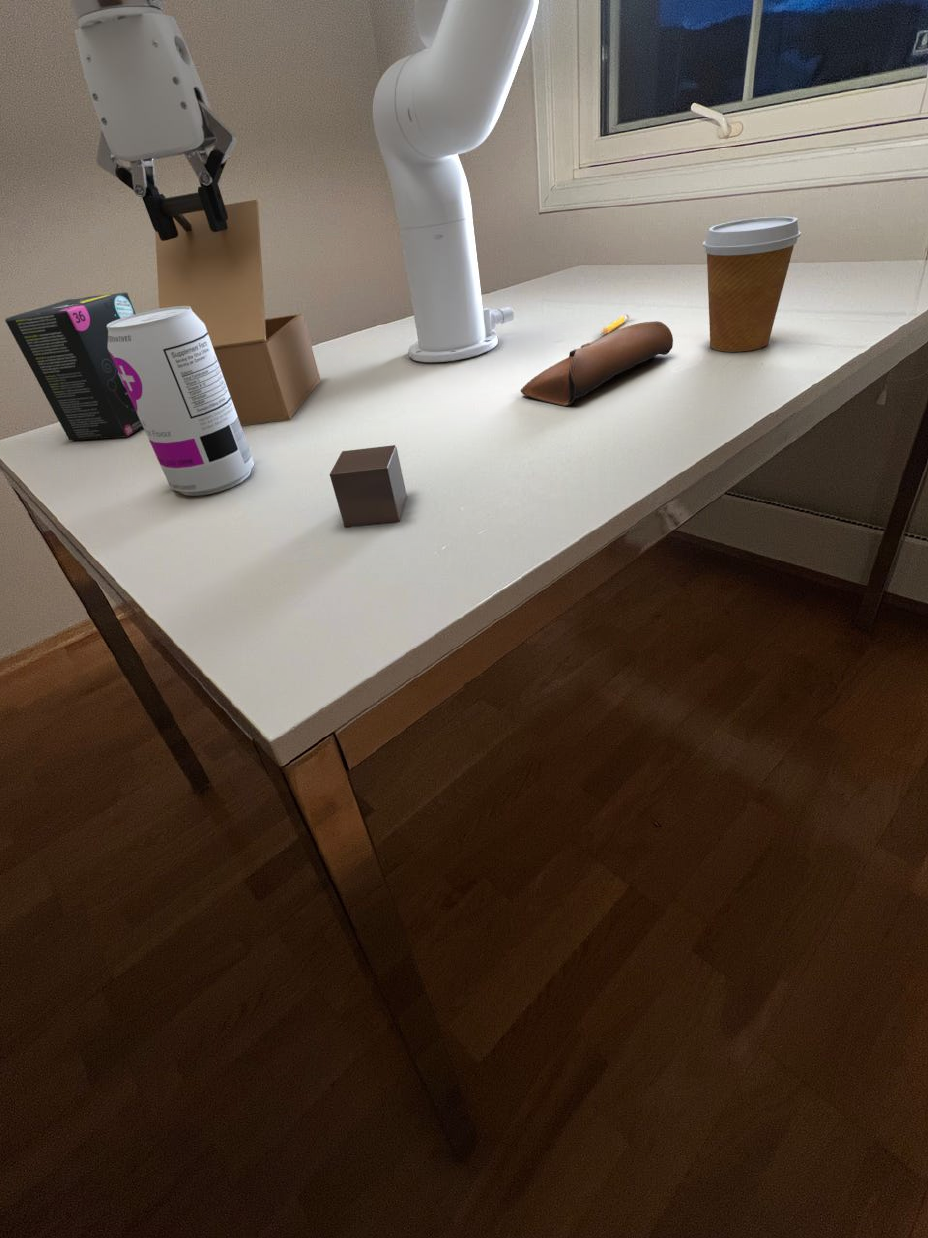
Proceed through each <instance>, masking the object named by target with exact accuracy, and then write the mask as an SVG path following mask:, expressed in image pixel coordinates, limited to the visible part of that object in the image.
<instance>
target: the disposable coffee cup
mask: <svg viewBox="0 0 928 1238" xmlns="http://www.w3.org/2000/svg"><path fill="white" fill-rule="evenodd" d="M801 234H802V232H801V231H800V230H799V221H798V218H797V217H794V216H763V217H755V218H754V217H753V218H746V219H740V220H733V221H728V222H723V223H720V224H715V225H713V226H711V227H709V228H708V230H707V235H706V238H705V240H704V241H703V243H702V246H703V247H704V253H705V254H706V268H707V269H706V270H707V271H706V272H707V295H708V320H709V321H708V324H709V347H710V348H712V350H716V351H719V352H727V353H729V352H730V353H735V352H748V351H753V350H758V349H761V348H764V347H765V346H767V345H768V344H769V343H770V339H771V335H772V331H773V327H774V324H775V321H776V315H777V313H778V308H779V304H780V300H781V297H782V293H783V290H784V285H785V281H786V278H787V273H788V270H789V267H790V262H791V257H792V254H793V250H794V247H795V245H796V244H797V243H798V238H799V237H800V236H801Z"/></svg>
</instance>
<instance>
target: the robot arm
mask: <svg viewBox="0 0 928 1238" xmlns="http://www.w3.org/2000/svg"><path fill="white" fill-rule="evenodd" d="M69 2H70V5H71V7H72V10H73V13H74V16H75V18H76V21H77V23H78V26H79V28H78V29H75V30H74V33H75V39H76V45H77V49H78V50H77V51H78V54H79V59H80V62H81V66H82V70H83V74H84V79H85V82H86V85H87V89H88V92H89V96H90V98H91V102H92V105H93V108H94V112H95V114H96V117H97V120H98V122H99V123H98V124H99V125H100V128H101V133H100V138H99V144H98V148H97V154H96V159H95V161H96V164H97V165H98V167H99V168H101V169H102V170H104V171H106V172H107V173H109V174H110V175H112V176H114V177H116V178H117V179H118V180H119V181H120V182H122V183H123V184H124V185H125V186H127V187H128V188H129V189H131V190H132V191H133V192H134V195H136V196H137V197H139V198H141V199H142V201H143V204H144V207H145V209H146V212H147V214H148V217H149V221H150V222H151V223H150V224H151V225H152V228H153V230H154V232H155V231H156V232H158V234H159V237H160V239H161V240H162V241H166V240H170V239H173V238H177V236H178V231H177V228H176V225H175V223H174V220H173V217H172V216H167V215H166V214H165V213H164V211H163V209H162V205H161V200H162V199H163V198H167V197H166V196H165V195H164V193H160V191H159V188H158V183H157V175H156V166H155V160H159V159H160V160H161V159H165V158H171V157H178V156H183V155H184V156H185V158H186V160H187V161H188V163H189V165H190V166H191V168H192V170H193V172H194V173H195V175H196V177H197V178H198V181H199V182H198V183H199V184H200V186H197V192H198V193H199V196H200V199H201V202H202V205H203V208H204V212H205V215H206V218H207V221H208V224H209V227H210V229H211V231H213V232H219V231H222V230H225V229H227V228H228V226H227V222H226V220H228V215H227V211H226V208H225V205H226V204H225V202H224V199H223V195H222V191H221V189H220V186H219V184H220V183H221V181H222V177H221V176H222V173H223V172H224V170H225V166H226V164H227V161H228V158H229V156H230V155H231V153H232V151H233V149H234V148H235V146H236V143H237V142H238V137H237V135H236V133H235V132H234V131H233V130H232V129H231V128H230V127H229V125H227V124H226V123H225V122H224V121H223V120H222V119H221V118H220V117H218V115H217V114H216V113H215V112H213V110H212V108H211V104H210V101H209V99H208V96H207V94H206V91H205V89H204V85H203V83H202V80H201V76H200V75H199V73H198V70H197V68H196V65H195V62H194V60H193V58H192V55H191V53H190V51H189V47H188V46H187V43H186V41H185V39H184V36H183V34H182V32H181V30H180V27H179V25H178V23H177V22H176V19H175V17H174V16H172V15H168V14H165V13H164V12H163V10H164V9H165V7H164V4H163V0H69ZM538 6H539V0H414V22H415V26H416V32H417V34H418V36H419V39H420V41H421V43H422V44H423V45H424V47H425V49H423V50H418V51H416V52H414V53H412V54H411V53H410V54H409V55H407V56H405V57H402V58H401V59H399V60H397V61H395V62H394V63H392V64H391V65H390V66H389V67H388V68H387V69H386V70H385V71H384V73H383V74H382V76H381V77H380V79H379V81H378V83H377V85H376V88H375V90H374V96H373V100H372V123H373V129H374V133H375V137H376V141H377V145H378V147H379V150H380V153H381V156H382V160H383V163H384V166H385V169H386V174H387V177H388V181H389V184H390V188H391V194H392V199H393V203H394V209H395V213H396V219H397V227H398V233H399V238H400V244H401V250H402V255H403V261H404V268H405V273H406V279H407V284H408V291H409V296H410V301H411V307H412V314H413V319H414V324H415V330H416V335H417V336H416V337H417V341H415V342H414V343H412V344H411V345H410V346H409V347H408V353H409V358H411V360H413V361H415V362H419V363H445V362H454V361H460V360H464V359H469V358H472V357H476V356H479V355H482V354H485V353H487V352H489V351H491V350H492V349H494V348H495V347H496V346H497V344H498V343H499V342H498V335H497V333H496V332H494V331H493V329H495V328H496V327H497V325H499V324H506V323H509V322H512V321H513V320H514V317H515V314H514V310H513V309H514V308H512V307H511V306H505V307H501V308H499V309H497V310H495V309H494V308H491V309H490V308H488V307H483V299H482V291H481V290H482V289H481V282H480V273H479V264H478V257H477V256H478V255H477V246H476V238H475V229H474V221H473V207H472V199H471V194H470V189H469V184H468V181H467V176H466V174H465V171H464V168H463V165H462V162H461V159H460V157H459V155H460V154H465V153H468V152H471V151H473V150H475V149H476V148H478V147H479V146H481V145H482V144H483V143H484V142H485V141H486V140H487V138H488V137H489V136H490V134H491V133H492V131H493V129H494V128H495V126H496V124H497V121H498V119H499V118H500V115H501V113H502V111H503V108H504V106H505V102H506V99H507V97H508V94H509V92H510V90H511V87H512V85H513V84H512V83H513V82H514V79H515V76H516V74H517V71H518V67H519V65H520V62H521V61H522V57H523V55H524V51H525V49H526V46H527V43H528V41H529V38H530V35H531V32H532V30H533V26H534V23H535V19H536V17H537V12H538ZM209 149H212V150H210V151H209V153H208V151H207V150H209ZM121 161H123V162H121ZM124 162H129V166H127V165H125V164H124Z"/></svg>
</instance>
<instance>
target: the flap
mask: <svg viewBox="0 0 928 1238" xmlns="http://www.w3.org/2000/svg"><path fill="white" fill-rule="evenodd" d="M161 205H162V209H163V211H164V213H165V214H166V215H167V216H172V217H173V220H174V223H175V225H176V228H177V231H178V236H177V238H173V239H170V240H166V241H162V240H161V239H160V237H159V234H158V232H156V231H155V230H154V233H155V234H154V236H155V253H156V254H155V255H156V273H157V274H156V275H157V290H158V292H157V293H158V309H162V308H169V307H177V306H190V307H191V309H192V311H193V312H194V313H195V314H196V316H197V317H198V318H199V319H200V320H201V321H202V322H203V323H204V324H205V327H206V329H207V332H208V335H209V338H210V341H211V343H212V346H213V349H215V348H223V347H230V346H237V345H244V344H251V343H258V342H265V341H266V328H265V319H266V313H265V298H264V297H265V296H264V295H265V294H264V282H263V281H264V278H263V263H262V247H261V230H260V229H261V228H260V212H259V202H258V200H257V199H251V200H246V201H241V202H234V203H229V204H224V205H225V208H226V211H227V215H228V220H226V222H227V226H228V228H227V229H225V230H222V231H219V232H213V231H211V229H210V227H209V224H208V221H207V218H206V215H205V212H204V208H203V205H202V202H201V199H200V196H199V193H198V191H197V192H191V193H187V194H181V195H174V196H170V197H166V198H163V199H162V200H161Z"/></svg>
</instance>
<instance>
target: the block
mask: <svg viewBox="0 0 928 1238" xmlns="http://www.w3.org/2000/svg"><path fill="white" fill-rule="evenodd" d="M329 477H330V481H331V484H332V488H333V492H334V495H335V498H336V503H337V505H338V508H339V513H340V516H341V519H342V523H343V527H346V528H347V527H357V526H366V525H367V526H368V525H376V524H385V523H397V522H400V520H401V517H402V515H403V511H404V508H405V507H404V506H405V503H406V500H407V497H408V494H407V490H406V484H405V481H404V475H403V470H402V466H401V462H400V456H399V451H398V447H397V445H396V444H394V445H393V444H391V445H384V446H376V447H375V446H374V447H367V448H358V449H350V450H349V449H348V450H342V451H341V453H340V455H339V456H338V458H337V460H336V461H335V464H334V465H333V467H332V469H331V471H330V472H329Z"/></svg>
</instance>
